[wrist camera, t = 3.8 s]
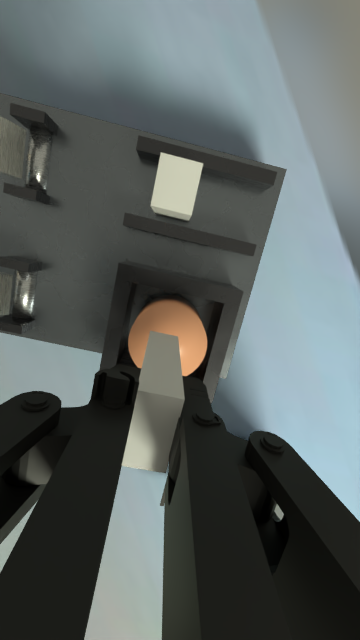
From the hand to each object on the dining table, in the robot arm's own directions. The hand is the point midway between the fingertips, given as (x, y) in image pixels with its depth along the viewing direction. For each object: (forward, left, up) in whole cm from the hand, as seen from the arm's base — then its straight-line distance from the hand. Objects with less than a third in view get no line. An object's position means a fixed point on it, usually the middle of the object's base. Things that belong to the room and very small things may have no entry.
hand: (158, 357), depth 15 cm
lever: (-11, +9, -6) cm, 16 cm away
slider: (-1, +9, -7) cm, 12 cm away
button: (0, 0, -6) cm, 6 cm away
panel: (-5, +5, -11) cm, 13 cm away
